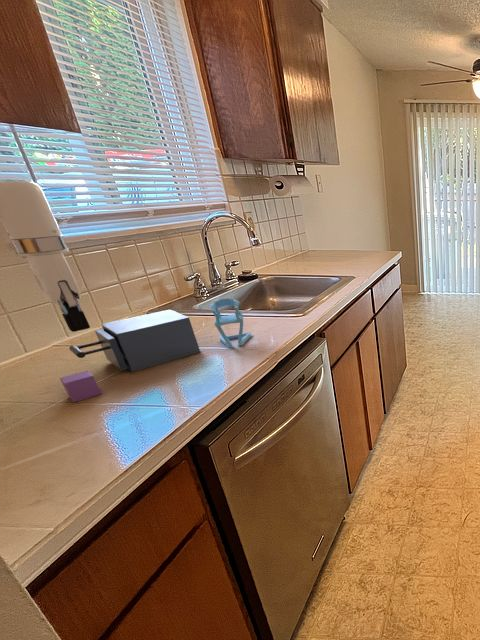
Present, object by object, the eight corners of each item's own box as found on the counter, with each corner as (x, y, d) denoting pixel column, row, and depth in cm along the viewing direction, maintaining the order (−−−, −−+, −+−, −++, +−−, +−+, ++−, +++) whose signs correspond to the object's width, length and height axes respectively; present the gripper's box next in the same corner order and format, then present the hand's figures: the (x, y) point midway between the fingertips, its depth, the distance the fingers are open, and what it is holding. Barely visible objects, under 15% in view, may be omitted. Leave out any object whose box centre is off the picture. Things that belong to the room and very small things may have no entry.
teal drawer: (89, 379, 89) (74, 347, 86) (76, 367, 95) (62, 337, 92) (186, 351, 103) (176, 323, 100) (169, 342, 109) (159, 315, 106)
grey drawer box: (132, 371, 95) (116, 334, 91) (116, 359, 102) (100, 324, 98) (200, 351, 105) (188, 317, 101) (181, 342, 112) (170, 309, 108)
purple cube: (74, 402, 82) (64, 383, 80) (68, 396, 84) (59, 377, 82) (101, 393, 85) (93, 375, 83) (95, 388, 87) (87, 370, 85)
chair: (219, 350, 106) (205, 306, 101) (220, 340, 113) (208, 299, 108) (251, 344, 110) (240, 302, 105) (251, 335, 116) (240, 295, 111)
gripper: (9, 246, 84) (50, 328, 91) (21, 251, 76) (65, 341, 83) (58, 241, 89) (92, 319, 97) (74, 246, 81) (111, 330, 89)
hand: (80, 329), depth 90 cm, fingers closed
